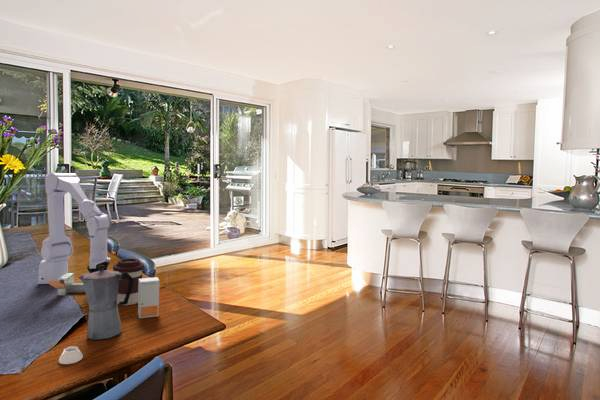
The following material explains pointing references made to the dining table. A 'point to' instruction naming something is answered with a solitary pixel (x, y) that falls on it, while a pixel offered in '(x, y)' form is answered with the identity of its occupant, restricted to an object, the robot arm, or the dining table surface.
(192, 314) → the dining table surface
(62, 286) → the lever
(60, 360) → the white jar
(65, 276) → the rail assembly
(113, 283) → the moka pot
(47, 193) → the robot arm
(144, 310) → the skincare box
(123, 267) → the coffee cup
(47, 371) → the dining table surface
